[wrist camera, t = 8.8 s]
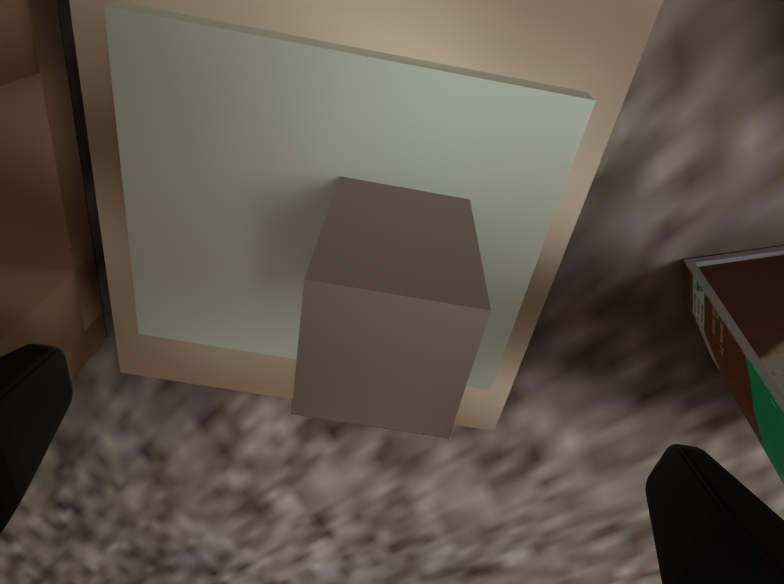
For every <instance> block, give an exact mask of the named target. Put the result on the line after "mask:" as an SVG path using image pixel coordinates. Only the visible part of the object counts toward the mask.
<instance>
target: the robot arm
mask: <svg viewBox="0 0 784 584" xmlns="http://www.w3.org/2000/svg"><path fill="white" fill-rule="evenodd" d="M72 394H73V389H72V383H71V378H70V374H69V369H68V364H67V359H66V355H65V352H64V351H63V350H62V349H61V348H59V347H56V346H50V345H43V344H37V343H31V344H27V345H25V346H22V347H20V348H18V349H16V350H13V351H11V352H9V353H7V354H5V355H2V356H0V534H1V533H2V531H3V529H4V528H5V526H6V525H7V523H8V522H9V520H10V518H11V517H12V515H13V514H14V512H15V510H16V509H17V507H18V505H19V504H20V502H21V500H22V498H23V496H24V495H25V493H26V491H27V489H28V487H29V485H30V483H31V481H32V479H33V477H34V475H35V473H36V471H37V469H38V467H39V465H40V463H41V461H42V459H43V457H44V455H45V453H46V451H47V449H48V447H49V445H50V443H51V441H52V440H53V438H54V436H55V434H56V432H57V430H58V428H59V426H60V424H61V422H62V420H63V418H64V416H65V414H66V412H67V410H68V408H69V405H70V403H71V400H72ZM646 497H647V503H648V508H649V514H650V519H651V525H652V530H653V536H654V541H655V547H656V552H657V558H658V563H659V569H660V574H661V579H662V584H784V520H783V519H782V518H781V517H779V516H778V515H777V514H776V513H775V512H774V511H773V510H771V509H770V508H769V507H768V506H767V505H766V504H765V503H763V502H762V501H761V500H760V499H759V498H758V497H757V496H755V495H754V494H753V493H752V492H751V491H750V490H749V489H747V488H746V487H745V486H744V485H743V484H742V483H741V482H739V481H738V480H737V479H736V478H735V477H734V476H732V475H731V474H730V473H729V472H728V471H727V470H726V469H724V468H723V467H722V466H721V465H720V464H719V463H718V462H716V461H715V460H714V459H713V458H712V457H711V456H710V455H708V454H707V453H706V452H705V451H704V450H702V449H700V448H697V447H692V446H686V445H680V444H673V445H671V446H669V447H668V448H667V449H666V451H665V452H664V454H663V455H662V457H661V458H660V460H659V461H658V463H657V464H656V466H655V467H654V469H653V470H652V472H651V473H650V475H649V476H648V479H647V482H646Z"/></svg>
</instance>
